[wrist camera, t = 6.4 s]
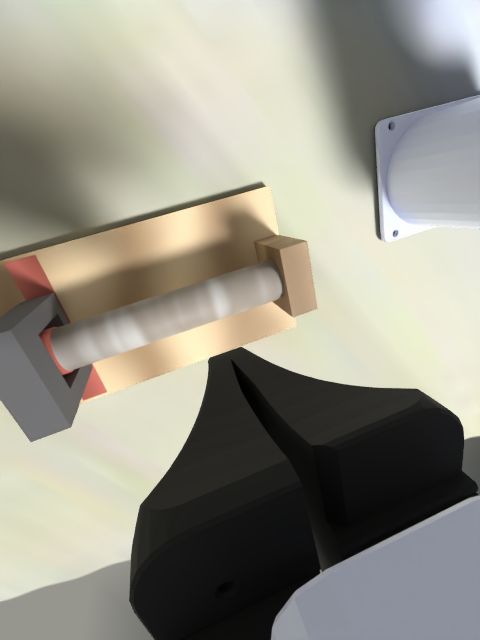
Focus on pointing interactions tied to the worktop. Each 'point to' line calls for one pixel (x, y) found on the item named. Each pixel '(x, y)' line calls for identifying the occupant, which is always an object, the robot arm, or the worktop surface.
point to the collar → (37, 370)
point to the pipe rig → (166, 290)
